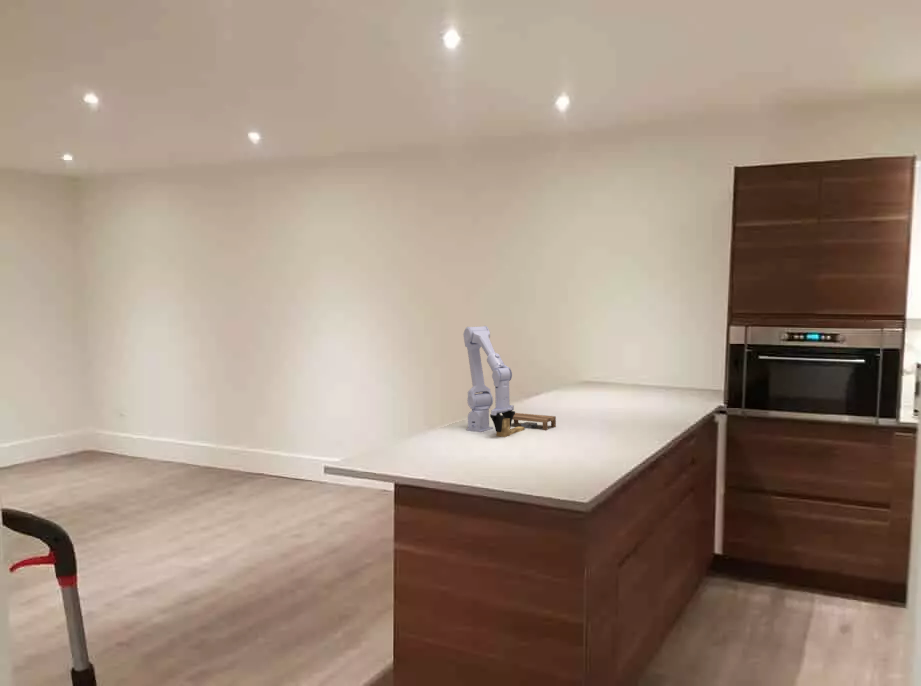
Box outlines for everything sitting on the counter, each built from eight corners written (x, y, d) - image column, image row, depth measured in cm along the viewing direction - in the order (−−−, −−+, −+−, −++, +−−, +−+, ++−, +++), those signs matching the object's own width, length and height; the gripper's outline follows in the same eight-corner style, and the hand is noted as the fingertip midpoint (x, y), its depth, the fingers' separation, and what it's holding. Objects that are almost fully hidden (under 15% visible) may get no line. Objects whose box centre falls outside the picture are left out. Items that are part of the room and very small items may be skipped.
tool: (504, 437, 302) (504, 419, 301) (496, 436, 304) (496, 419, 304) (525, 429, 316) (525, 413, 315) (517, 429, 318) (517, 412, 318)
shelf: (545, 430, 314) (545, 419, 313) (505, 426, 325) (504, 415, 325) (555, 426, 321) (555, 416, 321) (515, 422, 332) (515, 412, 332)
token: (531, 429, 319) (531, 424, 319) (521, 428, 322) (521, 423, 321) (537, 427, 323) (536, 422, 323) (526, 426, 326) (526, 421, 326)
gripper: (501, 400, 295) (502, 434, 296) (519, 395, 307) (520, 428, 308) (486, 399, 299) (487, 432, 300) (505, 394, 311) (505, 426, 312)
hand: (503, 430), depth 304 cm, fingers open, 6 cm apart
